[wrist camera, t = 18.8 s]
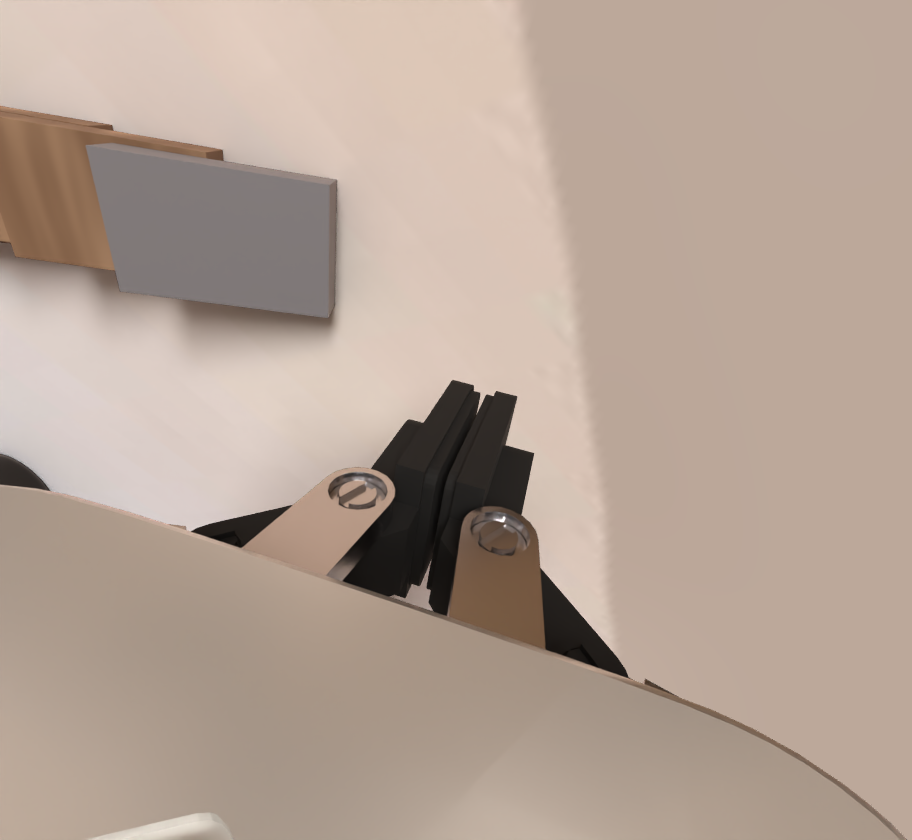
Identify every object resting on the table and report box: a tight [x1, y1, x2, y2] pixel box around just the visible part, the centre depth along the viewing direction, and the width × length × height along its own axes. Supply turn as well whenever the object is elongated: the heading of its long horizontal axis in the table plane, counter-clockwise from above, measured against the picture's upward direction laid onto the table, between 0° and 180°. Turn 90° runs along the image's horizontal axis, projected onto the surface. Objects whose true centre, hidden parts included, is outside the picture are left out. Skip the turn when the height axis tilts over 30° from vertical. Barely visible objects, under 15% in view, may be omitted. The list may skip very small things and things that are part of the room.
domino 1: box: [0, 112, 223, 271], centre depth 19 cm, size 2×5×8 cm
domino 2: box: [86, 143, 337, 318], centre depth 18 cm, size 2×5×8 cm
